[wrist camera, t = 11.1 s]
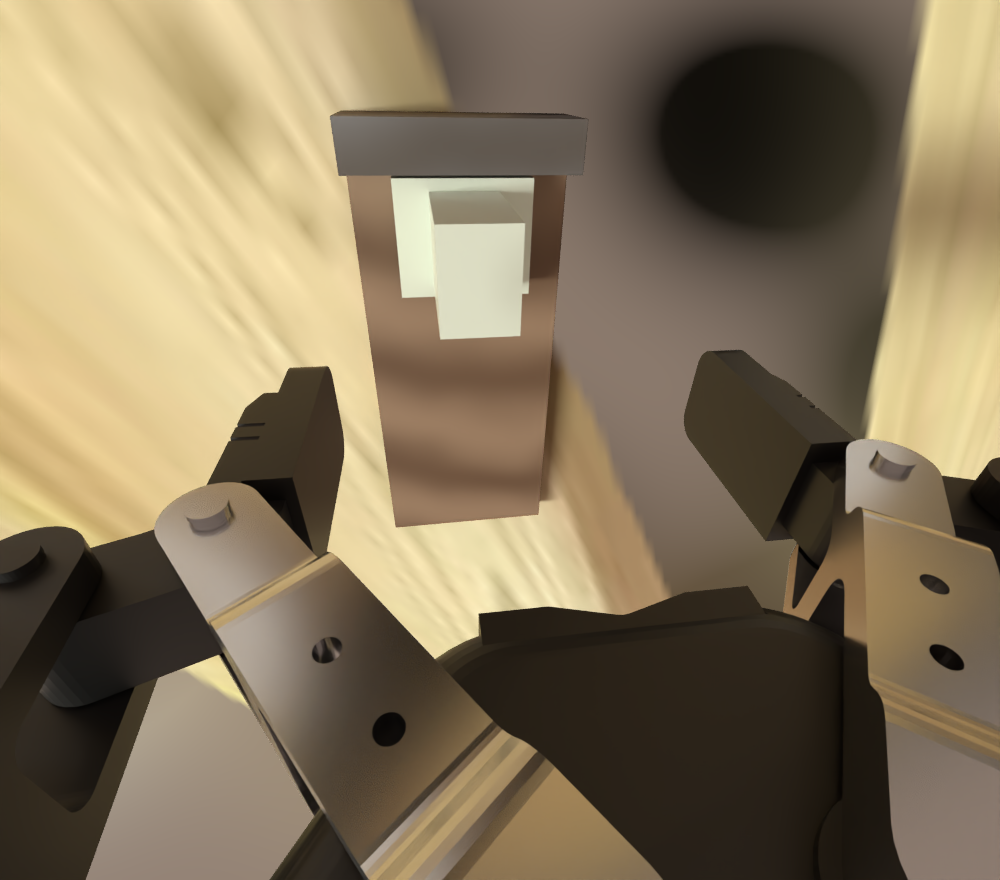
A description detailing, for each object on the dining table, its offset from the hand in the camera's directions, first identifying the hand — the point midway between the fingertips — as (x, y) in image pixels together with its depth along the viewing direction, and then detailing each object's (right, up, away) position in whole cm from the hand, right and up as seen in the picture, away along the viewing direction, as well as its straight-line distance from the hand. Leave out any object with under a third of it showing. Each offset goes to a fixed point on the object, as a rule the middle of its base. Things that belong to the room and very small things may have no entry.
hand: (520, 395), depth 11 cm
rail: (-3, +4, +19) cm, 19 cm away
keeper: (-2, +9, +13) cm, 16 cm away
